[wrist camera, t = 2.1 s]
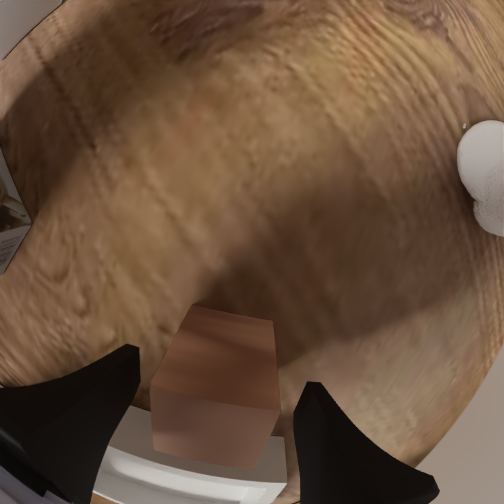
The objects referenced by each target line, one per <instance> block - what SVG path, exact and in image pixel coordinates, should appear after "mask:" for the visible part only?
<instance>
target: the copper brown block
mask: <svg viewBox="0 0 504 504" xmlns="http://www.w3.org/2000/svg"><path fill="white" fill-rule="evenodd" d="M150 407H151V423H152V435H153V445H154V450H156V451H160V452H163V453H167V454H170V455H174V456H178V457H182V458H186V459H191V460H195V461H200V462H205V463H210V464H216V465H222V466H228V467H235V468H243V469H252V470H254V468H255V466H256V464H257V462H258V460H259V458H260V456H261V454H262V452H263V450H264V448H265V446H266V444H267V442H268V440H269V437H270V435H271V433H272V431H273V429H274V426H275V424H276V422H277V420H278V417H279V415H280V413H281V403H280V392H279V380H278V369H277V358H276V348H275V337H274V327H273V321H271V320H265V319H260V318H254V317H249V316H244V315H239V314H234V313H229V312H224V311H219V310H214V309H210V308H205V307H201V306H196V305H191V307H190V309H189V310H188V312H187V314H186V316H185V318H184V320H183V322H182V323H181V325H180V327H179V329H178V331H177V333H176V335H175V337H174V339H173V340H172V342H171V344H170V346H169V348H168V350H167V352H166V354H165V356H164V358H163V360H162V361H161V363H160V365H159V367H158V369H157V371H156V373H155V375H154V377H153V379H152V381H151V383H150Z"/></svg>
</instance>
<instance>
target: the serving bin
mask: <svg viewBox="0 0 504 504" xmlns="http://www.w3.org/2000/svg"><path fill="white" fill-rule="evenodd" d="M286 485H287V469H286V456H285V443H284V437H279V436H270V437H269V440H268V442H267V444H266V446H265V448H264V450H263V452H262V454H261V456H260V458H259V460H258V462H257V464H256V466H255V468H254V470H252V469H243V468H235V467H228V466H222V465H216V464H210V463H205V462H200V461H195V460H191V459H186V458H182V457H178V456H174V455H170V454H167V453H163V452H160V451H156V450H154V445H153V435H152V423H151V412H150V411H146V410H143V409H140V408H137V407H134V406H131V405H130V406H129V408H128V409H127V411H126V413H125V415H124V416H123V418H122V420H121V422H120V423H119V425H118V427H117V428H116V430H115V432H114V434H113V436H112V438H111V440H110V442H109V444H108V447H107V449H106V452H105V454H104V457H103V460H102V463H101V465H100V468H99V471H98V474H97V478H96V481H95V485H94V488H93V492H94V493H96V494H98V495H100V496H102V497H105V498H107V499H109V500H112V501H114V502H117V503H119V504H271V503H272V502H273V500H274V499H275V498H276V497H277V496H278V494H279V493H280V492H281V491H282V490H283V488H284V487H285V486H286Z"/></svg>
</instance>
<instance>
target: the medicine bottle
mask: <svg viewBox="0 0 504 504" xmlns="http://www.w3.org/2000/svg"><path fill="white" fill-rule="evenodd" d="M62 1H63V0H0V61H2V60H3V59H4V58H5V57H6V56H7V54H8V53H9V52H10V51H11V50H12V49H13V48H14V47H15V46H16V45H17V44H18V43H19V42H20V40H21V39H22V38H23V37H24V36H25V35H26V34H27V33H29V32H30V31H31V30H32V29H33V28H34V27H35V26H36V25H37V24H38V23H39V22H40V21H41V20H43V19H44V18H45V17H46V16H47V15H48V14H50V13H51V12H52V11H53V10H54V9H56V8H57V7H58V6H59V5H61V3H62Z"/></svg>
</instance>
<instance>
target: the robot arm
mask: <svg viewBox="0 0 504 504" xmlns="http://www.w3.org/2000/svg"><path fill="white" fill-rule="evenodd" d="M140 382H141V380H140V354H139V347H136V346H133V345H130V344H125V345H123V346H122V347H120V348H118V349H116V350H115V351H113V352H111V353H110V354H108V355H106V356H104V357H103V358H101V359H99V360H97V361H96V362H94V363H92V364H90V365H88V366H86V367H84V368H82V369H80V370H78V371H76V372H73V373H71V374H68V375H66V376H63V377H60V378H57V379H54V380H51V381H47V382H43V383H39V384H35V385H29V386H22V387H11V388H4V387H3V386H2V385H0V504H90V501H91V496H92V492H93V488H94V485H95V481H96V478H97V474H98V471H99V468H100V465H101V463H102V460H103V457H104V454H105V452H106V449H107V447H108V444H109V442H110V440H111V438H112V436H113V434H114V432H115V430H116V428H117V427H118V425H119V423H120V422H121V420H122V418H123V416H124V415H125V413H126V411H127V409H128V408H129V406H130V404H131V403H132V401H133V399H134V396H135V394H136V392H137V389H138V387H139V384H140ZM293 423H294V438H295V445H296V451H297V458H298V464H299V471H300V504H428V503H430V502H431V501H432V500H434V499H435V498H436V497H437V496H438V494H439V492H440V490H439V488H438V486H437V484H436V482H435V479H434V477H433V476H432V475H429V474H426V473H424V472H421V471H419V470H416V469H414V468H412V467H410V466H408V465H406V464H404V463H402V462H401V461H399V460H397V459H396V458H394V457H392V456H391V455H389V454H388V453H387V452H385V451H384V450H382V449H381V448H380V447H378V446H377V445H376V444H375V443H373V442H372V441H371V440H370V439H369V438H368V437H366V436H365V435H364V434H363V433H362V432H361V431H360V430H359V429H358V428H357V427H356V426H355V425H354V424H353V422H352V421H351V420H350V419H349V418H348V417H347V416H346V414H345V413H344V412H343V411H342V410H341V408H340V407H339V406H338V405H337V403H336V402H335V401H334V399H333V398H332V397H331V395H330V394H329V393H328V391H327V390H326V389H325V387H324V386H323V385H322V384H321V383H320V382H309V381H307V383H306V386H305V388H304V390H303V392H302V395H301V397H300V399H299V401H298V404H297V406H296V408H295V410H294V421H293Z"/></svg>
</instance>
